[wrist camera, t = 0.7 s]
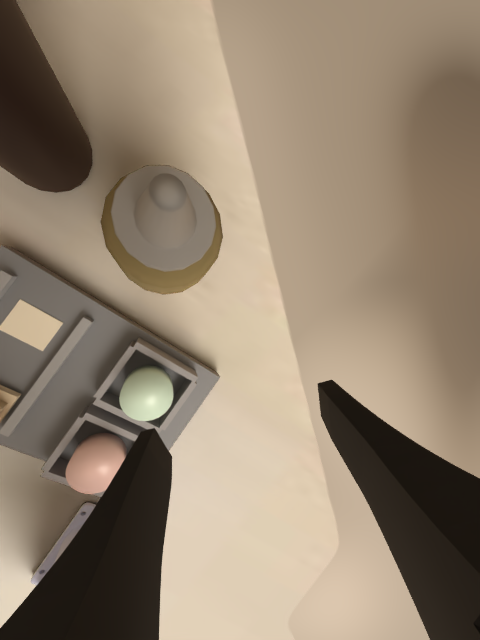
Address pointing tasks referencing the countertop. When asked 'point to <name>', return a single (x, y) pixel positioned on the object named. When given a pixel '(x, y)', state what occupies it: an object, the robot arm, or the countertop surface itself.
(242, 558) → the countertop surface
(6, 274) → the panel
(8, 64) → the vinegar
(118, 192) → the squeeze bottle
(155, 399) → the mint button
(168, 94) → the countertop surface
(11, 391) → the tan wooden step block
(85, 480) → the pink button
